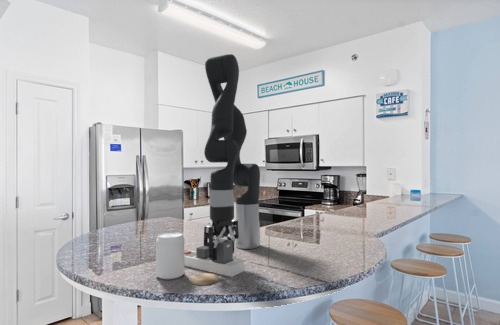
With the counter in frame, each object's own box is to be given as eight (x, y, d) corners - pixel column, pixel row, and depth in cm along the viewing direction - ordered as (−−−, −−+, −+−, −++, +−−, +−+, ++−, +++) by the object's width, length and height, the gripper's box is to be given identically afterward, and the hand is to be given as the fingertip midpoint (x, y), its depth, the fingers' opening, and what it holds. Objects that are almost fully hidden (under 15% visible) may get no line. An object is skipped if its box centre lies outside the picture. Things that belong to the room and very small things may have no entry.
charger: (221, 260, 101) (221, 238, 101) (232, 263, 99) (232, 240, 99) (212, 264, 97) (212, 241, 98) (223, 266, 95) (223, 243, 95)
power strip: (183, 257, 112) (183, 240, 112) (244, 270, 97) (244, 251, 98) (169, 262, 107) (169, 244, 107) (231, 276, 92) (231, 256, 92)
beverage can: (186, 271, 98) (186, 231, 98) (181, 280, 89) (181, 237, 90) (160, 271, 97) (160, 232, 98) (152, 280, 89) (152, 238, 89)
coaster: (203, 273, 95) (203, 271, 95) (224, 278, 91) (224, 276, 91) (183, 281, 88) (183, 279, 88) (205, 287, 84) (205, 285, 84)
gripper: (226, 201, 106) (226, 250, 106) (197, 205, 95) (197, 260, 94) (245, 202, 102) (245, 253, 102) (216, 207, 90) (216, 264, 90)
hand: (222, 256), depth 98 cm, fingers open, 8 cm apart
